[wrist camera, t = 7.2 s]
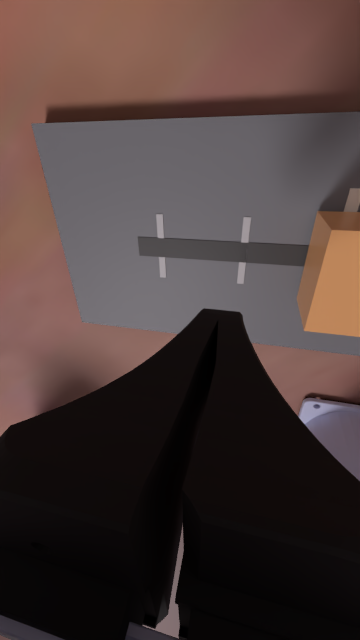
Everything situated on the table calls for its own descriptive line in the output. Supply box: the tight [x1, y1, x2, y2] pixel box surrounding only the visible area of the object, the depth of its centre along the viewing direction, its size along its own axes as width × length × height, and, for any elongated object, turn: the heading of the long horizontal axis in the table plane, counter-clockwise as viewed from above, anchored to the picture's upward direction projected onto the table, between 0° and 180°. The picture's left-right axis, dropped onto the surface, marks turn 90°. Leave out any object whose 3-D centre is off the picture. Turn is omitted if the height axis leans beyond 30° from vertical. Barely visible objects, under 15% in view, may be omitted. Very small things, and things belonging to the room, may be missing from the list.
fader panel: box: [32, 112, 360, 356], centre depth 17 cm, size 23×13×1 cm, turn 91°
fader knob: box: [297, 211, 360, 337], centre depth 14 cm, size 4×5×3 cm
